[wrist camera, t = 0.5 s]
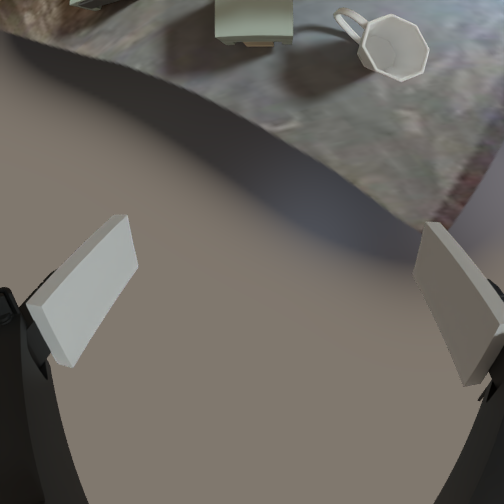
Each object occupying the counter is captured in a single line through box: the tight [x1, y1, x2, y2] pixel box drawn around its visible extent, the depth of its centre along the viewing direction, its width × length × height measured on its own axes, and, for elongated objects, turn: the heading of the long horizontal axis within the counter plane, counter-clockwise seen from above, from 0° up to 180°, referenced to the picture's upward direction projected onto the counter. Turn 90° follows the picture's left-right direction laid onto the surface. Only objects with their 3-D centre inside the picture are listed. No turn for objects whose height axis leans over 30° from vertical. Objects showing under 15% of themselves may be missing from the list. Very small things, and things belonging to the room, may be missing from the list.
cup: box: [333, 8, 429, 82], centre depth 25 cm, size 7×10×8 cm
